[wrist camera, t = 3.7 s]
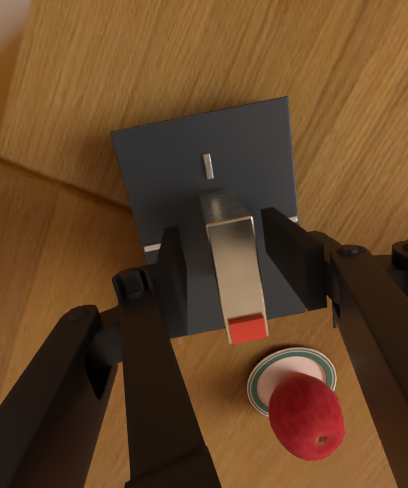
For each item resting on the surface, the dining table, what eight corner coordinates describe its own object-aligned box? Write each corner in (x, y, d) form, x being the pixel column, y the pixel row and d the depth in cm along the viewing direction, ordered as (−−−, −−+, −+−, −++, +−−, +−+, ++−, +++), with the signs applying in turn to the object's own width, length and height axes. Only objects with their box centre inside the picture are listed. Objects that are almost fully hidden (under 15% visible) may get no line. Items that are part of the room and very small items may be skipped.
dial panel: (121, 133, 19) (108, 131, 16) (273, 102, 19) (289, 95, 16) (169, 316, 24) (167, 341, 21) (292, 291, 24) (307, 313, 21)
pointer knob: (197, 193, 17) (205, 226, 11) (227, 187, 17) (254, 217, 11) (214, 275, 19) (229, 349, 12) (241, 270, 19) (271, 340, 12)
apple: (293, 327, 25) (329, 389, 19) (350, 376, 27) (399, 445, 21) (227, 385, 26) (240, 459, 20) (286, 426, 28) (313, 505, 22)
